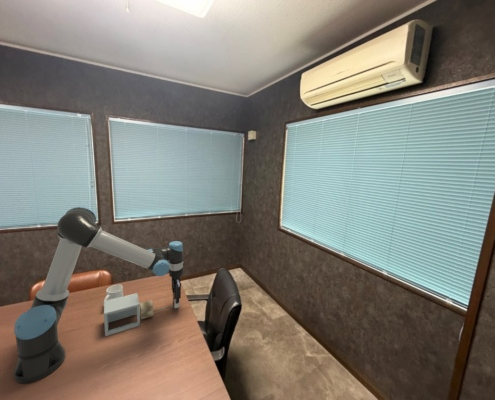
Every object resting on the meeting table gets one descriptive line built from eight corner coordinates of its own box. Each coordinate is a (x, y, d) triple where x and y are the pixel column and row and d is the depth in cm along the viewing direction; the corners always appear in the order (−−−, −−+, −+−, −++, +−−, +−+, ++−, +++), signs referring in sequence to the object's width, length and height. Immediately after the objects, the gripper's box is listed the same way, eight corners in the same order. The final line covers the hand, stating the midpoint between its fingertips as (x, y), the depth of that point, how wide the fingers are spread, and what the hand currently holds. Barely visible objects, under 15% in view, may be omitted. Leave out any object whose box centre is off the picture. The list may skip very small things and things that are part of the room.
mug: (110, 314, 119) (109, 297, 117) (97, 311, 121) (96, 294, 119) (126, 301, 131) (126, 286, 129) (115, 299, 132) (114, 283, 131)
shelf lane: (105, 336, 104) (103, 313, 102) (105, 321, 114) (104, 300, 112) (140, 325, 112) (139, 304, 110) (138, 312, 122) (137, 292, 120)
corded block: (141, 319, 115) (140, 305, 114) (140, 312, 120) (139, 299, 119) (180, 307, 126) (180, 295, 124) (177, 302, 131) (177, 290, 129)
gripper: (186, 273, 119) (186, 311, 122) (178, 261, 132) (178, 296, 136) (172, 276, 115) (172, 315, 118) (166, 263, 128) (166, 299, 132)
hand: (176, 305), depth 127 cm, fingers closed on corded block, 3 cm apart
